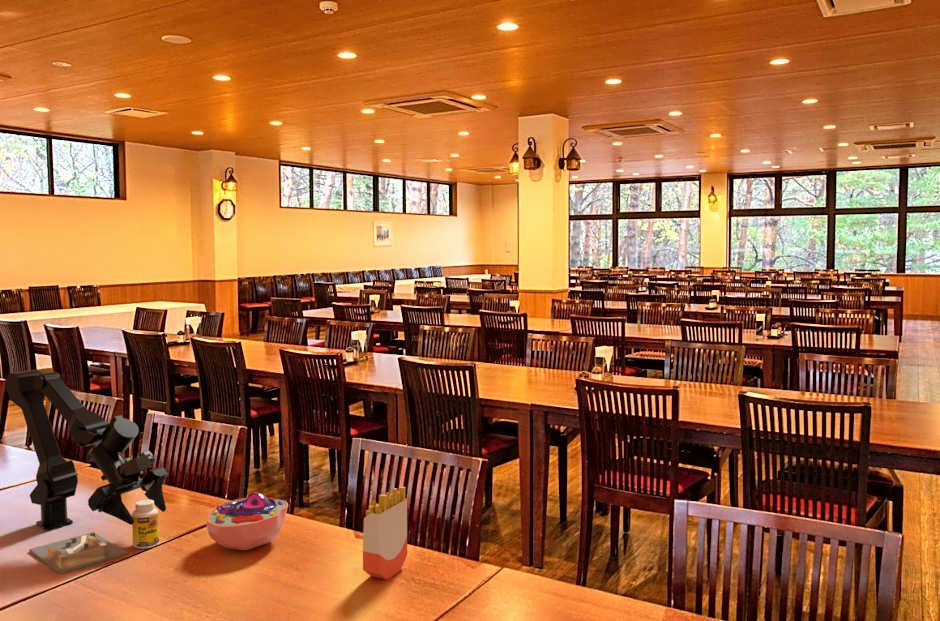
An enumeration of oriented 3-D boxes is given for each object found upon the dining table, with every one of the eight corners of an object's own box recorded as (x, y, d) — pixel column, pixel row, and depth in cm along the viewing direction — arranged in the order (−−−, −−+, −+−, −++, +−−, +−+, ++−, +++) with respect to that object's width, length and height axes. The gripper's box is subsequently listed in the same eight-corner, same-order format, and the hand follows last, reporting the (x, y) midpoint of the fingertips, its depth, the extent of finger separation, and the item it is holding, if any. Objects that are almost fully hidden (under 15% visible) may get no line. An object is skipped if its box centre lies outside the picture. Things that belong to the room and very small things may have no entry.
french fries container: (361, 580, 161) (360, 495, 159) (389, 561, 171) (388, 481, 169) (380, 585, 159) (379, 499, 157) (407, 565, 168) (407, 484, 167)
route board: (29, 551, 176) (29, 544, 175) (93, 534, 186) (92, 527, 186) (59, 574, 164) (59, 566, 164) (125, 554, 174) (125, 547, 174)
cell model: (187, 553, 175) (186, 504, 174) (251, 524, 193) (250, 480, 192) (244, 567, 167) (243, 516, 166) (305, 536, 185) (304, 490, 184)
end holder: (48, 559, 170) (47, 548, 170) (92, 546, 177) (92, 535, 177) (63, 570, 164) (62, 558, 164) (108, 556, 171) (108, 545, 171)
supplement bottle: (135, 551, 176) (134, 507, 175) (131, 543, 180) (129, 500, 179) (161, 546, 179) (160, 503, 178) (156, 538, 183) (154, 496, 182)
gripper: (94, 452, 171) (132, 508, 167) (161, 433, 188) (197, 484, 184) (71, 483, 175) (108, 538, 171) (138, 461, 192) (173, 512, 188)
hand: (149, 516), depth 178 cm, fingers open, 9 cm apart
